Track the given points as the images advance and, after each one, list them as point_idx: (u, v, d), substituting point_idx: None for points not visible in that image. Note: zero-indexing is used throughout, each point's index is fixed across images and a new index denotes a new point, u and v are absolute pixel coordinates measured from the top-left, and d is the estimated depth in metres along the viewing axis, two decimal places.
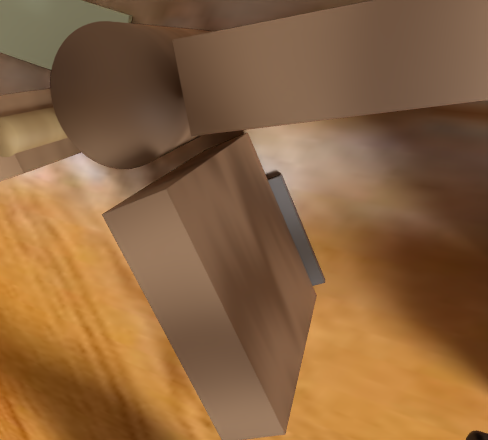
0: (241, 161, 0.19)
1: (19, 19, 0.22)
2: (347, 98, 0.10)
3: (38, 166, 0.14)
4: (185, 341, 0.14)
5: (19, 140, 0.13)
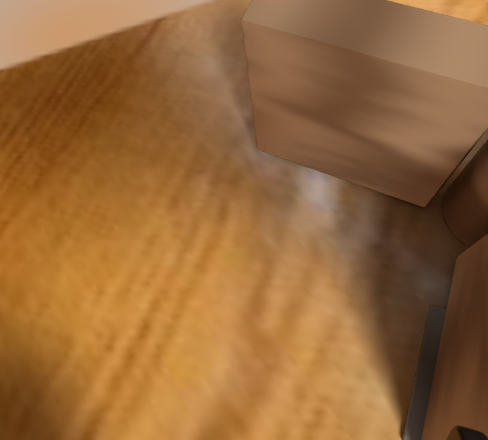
0: None
1: None
2: None
3: None
4: None
5: None
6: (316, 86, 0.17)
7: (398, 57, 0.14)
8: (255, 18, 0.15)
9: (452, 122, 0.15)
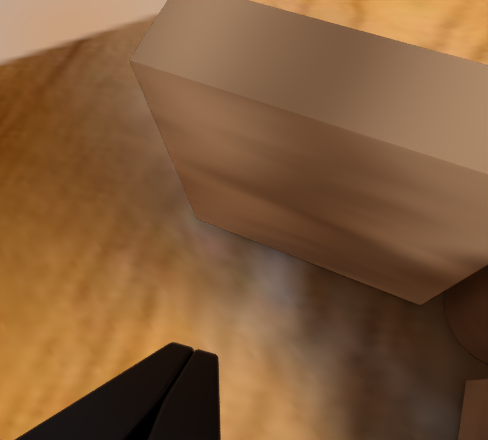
0: None
1: None
2: None
3: None
4: None
5: None
6: (260, 159, 0.11)
7: (386, 131, 0.08)
8: (152, 58, 0.09)
9: (472, 226, 0.10)
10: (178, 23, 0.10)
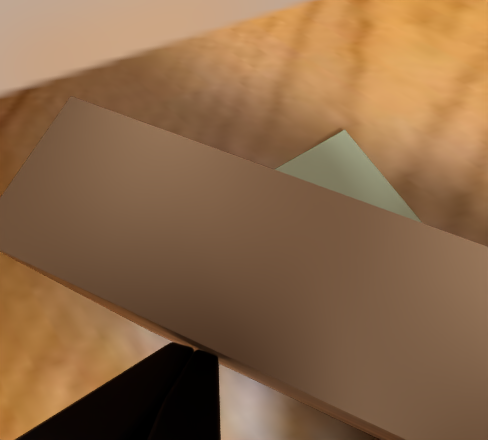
0: None
1: None
2: None
3: None
4: None
5: None
6: (201, 349, 0.07)
7: (389, 407, 0.05)
8: (9, 236, 0.06)
9: None
10: (59, 170, 0.06)
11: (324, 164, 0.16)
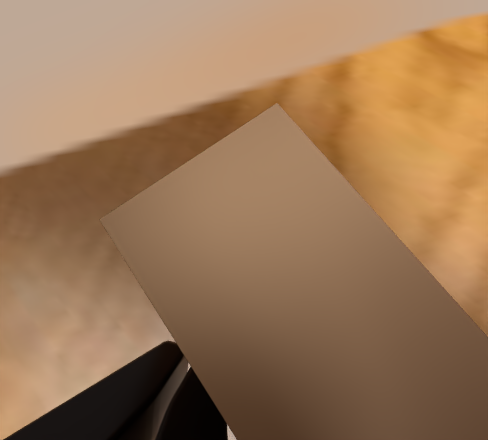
0: None
1: None
2: None
3: None
4: None
5: None
6: None
7: None
8: (135, 239, 0.05)
9: None
10: (223, 189, 0.05)
11: None
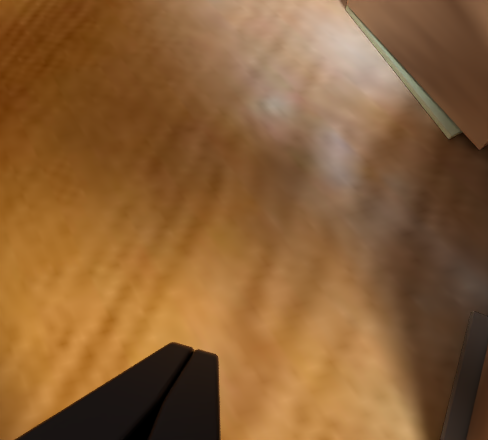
0: None
1: None
2: None
3: None
4: None
5: None
6: None
7: None
8: None
9: None
10: None
11: None
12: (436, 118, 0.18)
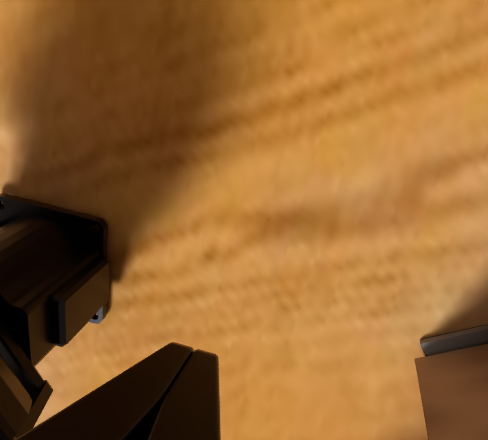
0: None
1: None
2: None
3: None
4: None
5: None
6: None
7: None
8: None
9: None
10: None
11: None
12: None
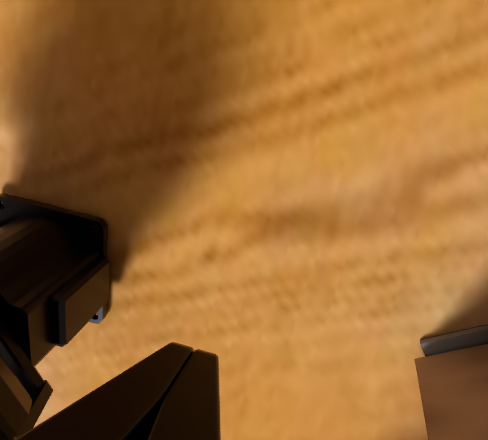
0: None
1: None
2: None
3: None
4: None
5: None
6: None
7: None
8: None
9: None
10: None
11: None
12: None
